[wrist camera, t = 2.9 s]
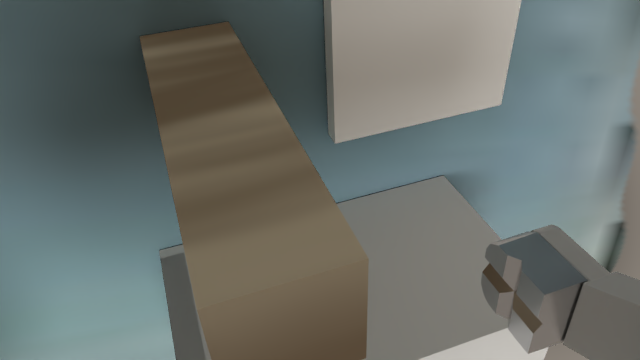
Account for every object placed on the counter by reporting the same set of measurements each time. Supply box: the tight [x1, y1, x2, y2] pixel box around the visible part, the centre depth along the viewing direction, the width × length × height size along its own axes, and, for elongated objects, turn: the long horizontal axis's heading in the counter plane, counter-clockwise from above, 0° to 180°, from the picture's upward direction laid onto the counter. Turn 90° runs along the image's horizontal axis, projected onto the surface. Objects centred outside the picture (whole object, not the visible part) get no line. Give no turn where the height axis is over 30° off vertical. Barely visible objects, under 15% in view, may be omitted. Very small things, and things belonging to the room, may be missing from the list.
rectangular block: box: [139, 22, 369, 360], centre depth 14 cm, size 3×3×12 cm
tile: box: [324, 0, 521, 144], centre depth 21 cm, size 8×8×1 cm
